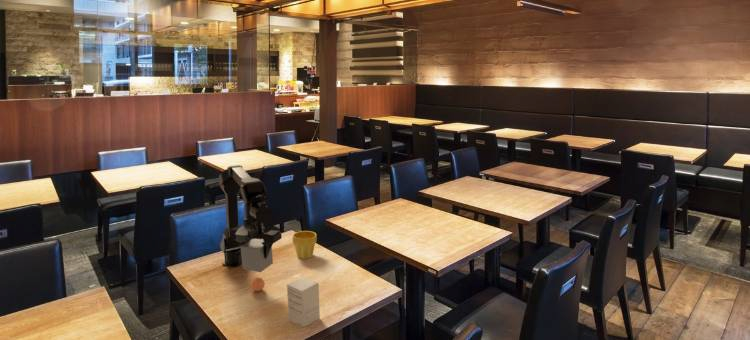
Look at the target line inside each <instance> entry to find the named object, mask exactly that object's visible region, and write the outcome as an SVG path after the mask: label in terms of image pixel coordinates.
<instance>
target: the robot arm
mask: <svg viewBox="0 0 750 340" xmlns="http://www.w3.org/2000/svg"><path fill="white" fill-rule="evenodd" d="M218 184H219V187H220V189H222V191H223V192H224V194H225V195H224V197H225V214H226V215H225V217H226V227H225V229H224V231H223V233H222V239H221V241H220V244H219V247H220V250H221V252H222V253H223V254H224V262H223V263H222V265H223V266H228V267H233V268H236V267H237V266H239V265H240V264H241V265H242V256H241V246H242V245H244V244H245V243H247V242H249V241H250V240H252V239H256V238H259V239H260V238H261V239H262V240H263V241H264V242H262V245H263V246H264V257H265V259H266V258H267V257H268V255H269V252H270V250H271V247H272V248H273V245H274V244H275V243H277V242H278V241H280V240H281V239H282V233H281V231H280V230H273V229H271V230H269V231H267V232H264V231H266V227H265V226H264V224H266V223H267V222H269V221H270V220H271V219H272V217H273V211H272V209H271V208H270V207H269V206H267V202H266V201H269V194H268V191H267V187H265V185H264V182H263V181H261V180H260V179H259V178H256V177H252V176H250V175H249V174H248V172H247V171H246V170H245V169H244V168H243V166H242V165H240V164H237V165H229V166H227V168H226V169H225V170H223V171H222V172H220V174H219V176H218ZM239 193H240V194H241V197H242V200H243V202H244V211H245V218H243V221H242V223H243V224H242V225H239V205H238V204H239V203H238V194H239Z"/></svg>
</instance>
